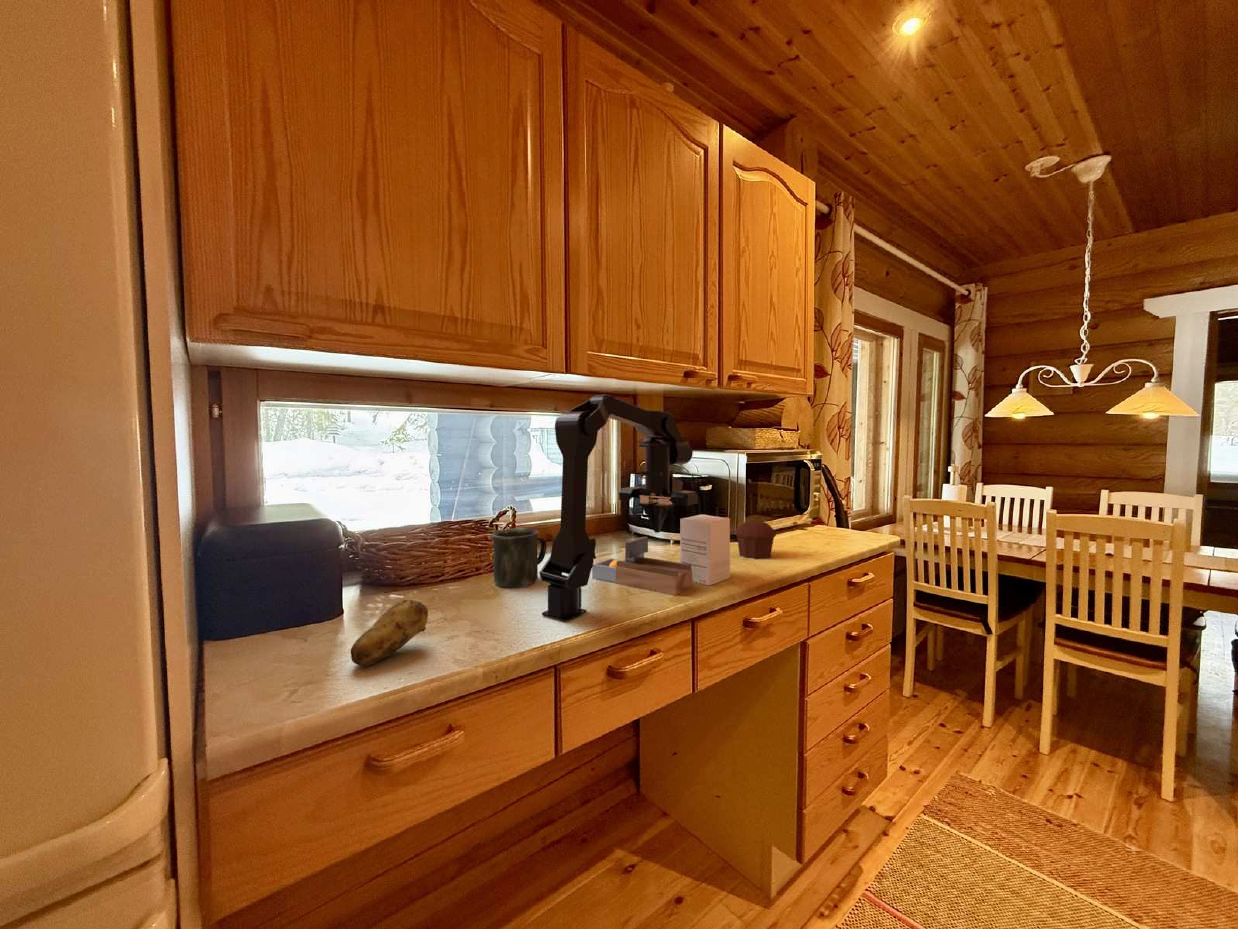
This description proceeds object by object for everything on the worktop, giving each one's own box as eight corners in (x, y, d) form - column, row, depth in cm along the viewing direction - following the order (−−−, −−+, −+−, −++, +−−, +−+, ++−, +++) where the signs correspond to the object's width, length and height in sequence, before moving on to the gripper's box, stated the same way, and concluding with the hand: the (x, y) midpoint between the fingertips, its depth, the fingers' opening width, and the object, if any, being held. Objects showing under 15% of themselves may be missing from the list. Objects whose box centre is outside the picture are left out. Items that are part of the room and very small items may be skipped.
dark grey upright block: (629, 568, 121) (629, 542, 121) (620, 566, 123) (620, 541, 122) (647, 561, 128) (648, 537, 128) (639, 560, 129) (639, 536, 129)
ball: (620, 576, 125) (616, 560, 126) (608, 579, 128) (603, 563, 128) (630, 572, 129) (625, 557, 129) (617, 575, 131) (613, 560, 131)
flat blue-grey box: (618, 583, 124) (618, 569, 123) (592, 578, 128) (592, 564, 128) (635, 576, 130) (635, 562, 130) (610, 571, 134) (610, 558, 134)
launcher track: (675, 595, 115) (675, 572, 114) (615, 583, 124) (615, 561, 124) (691, 586, 121) (692, 564, 121) (634, 575, 130) (634, 555, 130)
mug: (482, 582, 125) (482, 532, 124) (531, 570, 135) (531, 524, 135) (510, 592, 117) (509, 539, 117) (559, 578, 128) (559, 530, 127)
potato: (338, 659, 83) (337, 609, 82) (418, 636, 92) (417, 591, 91) (357, 676, 77) (355, 623, 76) (440, 650, 86) (439, 603, 86)
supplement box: (700, 571, 134) (701, 513, 133) (730, 578, 128) (731, 517, 127) (678, 578, 128) (679, 518, 127) (709, 586, 122) (710, 522, 121)
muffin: (726, 554, 153) (727, 520, 152) (749, 549, 160) (750, 516, 159) (761, 562, 144) (761, 526, 143) (783, 556, 151) (784, 521, 150)
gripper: (709, 465, 123) (708, 531, 124) (643, 463, 134) (643, 523, 135) (686, 468, 114) (686, 539, 115) (617, 465, 125) (617, 530, 126)
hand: (657, 532), depth 123 cm, fingers closed
